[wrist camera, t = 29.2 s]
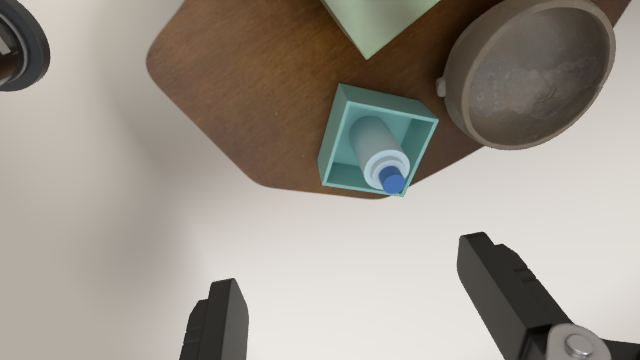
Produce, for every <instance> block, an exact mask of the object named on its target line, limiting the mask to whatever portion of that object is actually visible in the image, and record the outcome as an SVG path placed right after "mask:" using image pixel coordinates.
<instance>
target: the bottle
mask: <svg viewBox="0 0 640 360" xmlns="http://www.w3.org/2000/svg"><path fill="white" fill-rule="evenodd" d="M349 140H350V143H351V145H352V148H353V150H354V153H355V155H356V158H357V160H358V163H359V165H360V168H361V170H362V173H363V176H364V178H365V180H366V182H367V183H368V184H369V185H370V186H371V187H373V188H376V189H381V190H384V191H385V192H387V193H389V194H395V193H398V192H400V191H401V190H402V189H403V188H404V186H405V178H406V177H407V175H408V173H409V169H410V163H409V160H408V158H407V156H406V155H405V153H404V151H403V150H402V148H401V147H400V145H399V144H398V142H397V141H396V139H395V137H394V136H393V134H392V133H391V131H390V130H389V128H388V127H387V125H386V123H385V122H384V121H383V120H382V119H381V118H379V117H376V116H365V117H362V118H360V119H358V120H357V121H356V122H355V123H354V124H353V125H352V127H351V129H350V132H349Z"/></svg>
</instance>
